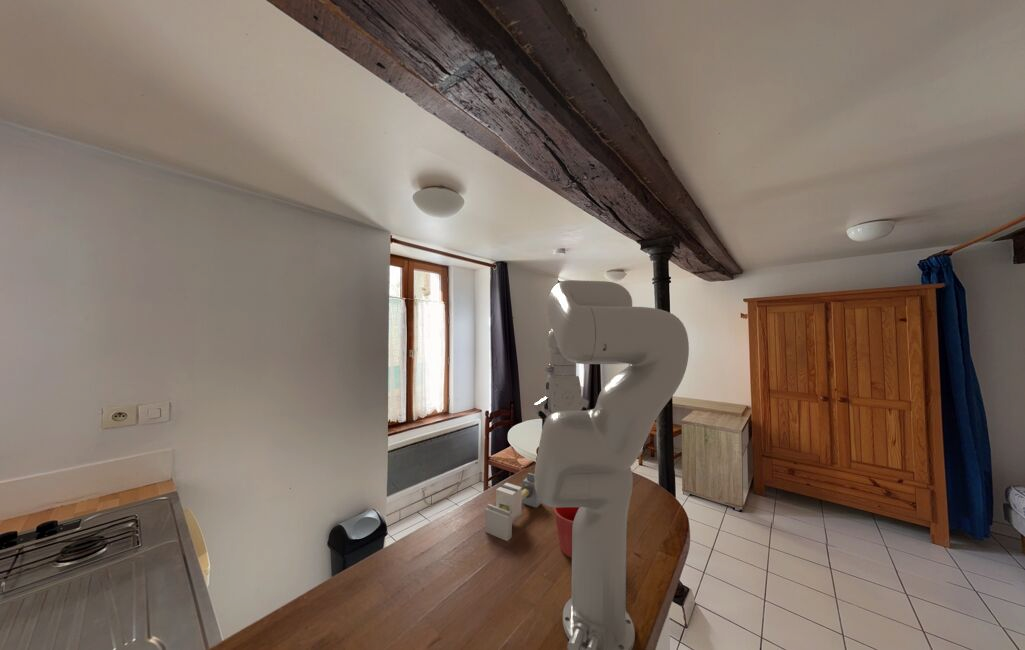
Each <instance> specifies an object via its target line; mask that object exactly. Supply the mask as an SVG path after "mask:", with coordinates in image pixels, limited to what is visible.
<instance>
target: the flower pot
mask: <svg viewBox="0 0 1025 650" xmlns="http://www.w3.org/2000/svg"><path fill="white" fill-rule="evenodd" d="M579 508H580V507H564V508H556V507H553V509H554V518H555V524H556V531H557V537H558V542H559V543H558V544H559V548H560V551H561V552H562V553H563V554H564V555H565V556H566V557H568V558H571V559H572V528H573V521H574V518H575V515H576V513H577V511H578V509H579Z"/></svg>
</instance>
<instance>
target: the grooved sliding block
mask: <svg viewBox="0 0 1025 650" xmlns="http://www.w3.org/2000/svg"><path fill="white" fill-rule="evenodd" d="M522 487H523V486H518V485H516V484H512V483H509V482H505V483H504V484H501V485H500V486H499V487H498V488H496V489H495V491H496V492H495V493H496V494H495V498H496V500H495V506H496V507H499V508H502V507H503V506H504V505H506V506H509V511H510V512H511V514H512V524H513V523H514V522H515V521H516V520H518V519H519V518H520V517H521V516H522V504H523V503H522Z"/></svg>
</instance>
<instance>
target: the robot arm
mask: <svg viewBox="0 0 1025 650" xmlns="http://www.w3.org/2000/svg"><path fill="white" fill-rule="evenodd" d="M547 317H548V322H549V325H550V330H549V331H548V335H547V346H548V349H549V359H548V360H549V361H548V363H549V364H548V367H547V366H546V367H545V368H544V369H545V370H544V371H545V373H548V375H547V376H546V380H545V383H544V384H545V385H544V393H543V398H541V399H540V400H539V401H537V402H535V403H534V404H533V408H534V410H535V411H536V415H538V417H539V418H540V419H541V433H540V439H539V444H538V451H537V456H536V461H535V467H534V468H535V469H534V474H535V476H534V481H535V489H536V493H537V496H538V498H539V499H540V501H541V504H543V505H544V506H546V507H549V508H554V507H556V508H564V507H580V508H579V509H578V511H577V513H576V515H575V518H574V521H573V528H572V558H571V597H570V598H569V599H568V600H567V601H566V603H565V605H564V607H563V611H562V626H563V630H564V633H565V635H566V637H567V639H568V640H569V641H568V643H567V645H566V646H567V647H566V648H567V650H633V648H634V645H635V643H636V642H635V641H636V639H635V638H636V632H635V625H634V623H633V619H632V618H631V616H630V614H629V613H628V612H627V611H626V607H627V605H626V603H627V601H626V600H627V527H628V525H627V524H628V513H629V507H630V501H631V497H632V492H633V485H634V483H633V482H634V481H633V480H634V477H633V472H632V468H631V467H632V466H633V465H634V464H635V462H636V461H637V459H638V457H639V456H640V453H641V451H642V449H643V447H644V445H645V443H646V441H647V439H648V437H649V435H650V433H651V431H652V428H653V426H654V424H655V422H656V420H657V418H658V416H659V415H660V413H661V412H662V411H663V409H664V408H665V407H666V405H667V404H668V402H669V401H670V400H671V399H672V397H673V396H674V395H675V393H676V391H677V390H678V389H679V387H680V385H681V383H682V381H683V378H684V377H685V373H686V371H687V368H688V363H689V353H690V348H689V347H690V346H689V343H690V342H689V335H688V333H687V328H686V327H685V325H684V322H682V320H681V319H680V318H679V317H677V316H676V315H675V314H673V313H671V312H669V311H667V310H663V309H660V308H654V307H647V306H633V298H632V296H631V294H630V292H629V290H628V289H626V288H625V286H623V285H621V284H619V283H616V282H614V281H607V280H605V281H604V280H576V279H575V280H574V279H573V280H572V279H570V280H569V279H567V280H562V281H560V282H557V283H556V284H555V285H554V286H553V288H552V289H551V291H550V292H549V296H548V299H547ZM577 364H579V365H580V364H581V365H628V366H627V367H625V368H624V369H623V370H621V371H620V372H618V373H617V374H615V375H614V376H613V377H612V378H611V379H610V380H609V381H608V382H606V384H605V385H604V386H603V387H602V389H601V391H600V392H599V394H598V397H597V400H596V403H595V407H594V408H592V409H588V410H587V408H588V406H589V404H590V403H589V402H590V401H589V400H588V399H586V398H584V397H582V386H581V382H580V377H579V375H577ZM542 407H543V410H542Z"/></svg>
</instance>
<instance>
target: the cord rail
mask: <svg viewBox="0 0 1025 650" xmlns="http://www.w3.org/2000/svg"><path fill="white" fill-rule="evenodd" d="M534 476H535V473H533V472H528V473H527V474H526V477H525V478H524V479H523V480H522V486H521V487H522V504H524V505H527V506H530V507H533V508H536V509H537V508H538V507H539V506H540V505H541V504H542V502H541V501H540V499H539V498H538V496H537V493H536V489H535V481H534ZM512 526H513V523H512V514H511V512H510V511H509V506H506V505H504V506H503V507H502V508H499V507H496V505H494V504H491V503H488V504H487V508H485V533H487V534H490V535H491V536H494V537H497V538H499V539H501V540H503V541H506V542H508V541H510V539H512V536H513V535H512V534H513V533H512V531H513V529H512V528H513V527H512Z"/></svg>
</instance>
